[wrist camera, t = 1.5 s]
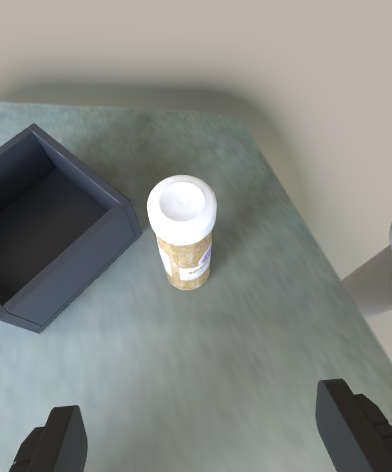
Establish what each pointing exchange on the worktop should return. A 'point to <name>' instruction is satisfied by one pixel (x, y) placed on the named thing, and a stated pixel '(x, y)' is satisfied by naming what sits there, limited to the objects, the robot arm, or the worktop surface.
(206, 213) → the sprinkles bottle
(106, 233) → the open box
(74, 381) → the worktop surface
